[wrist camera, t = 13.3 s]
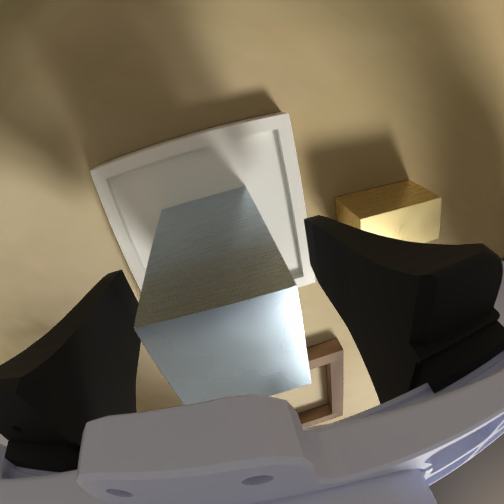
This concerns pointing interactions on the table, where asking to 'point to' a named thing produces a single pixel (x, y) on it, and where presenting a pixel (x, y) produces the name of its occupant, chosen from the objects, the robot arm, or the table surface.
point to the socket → (333, 359)
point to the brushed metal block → (221, 303)
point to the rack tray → (209, 186)
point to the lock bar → (393, 211)
